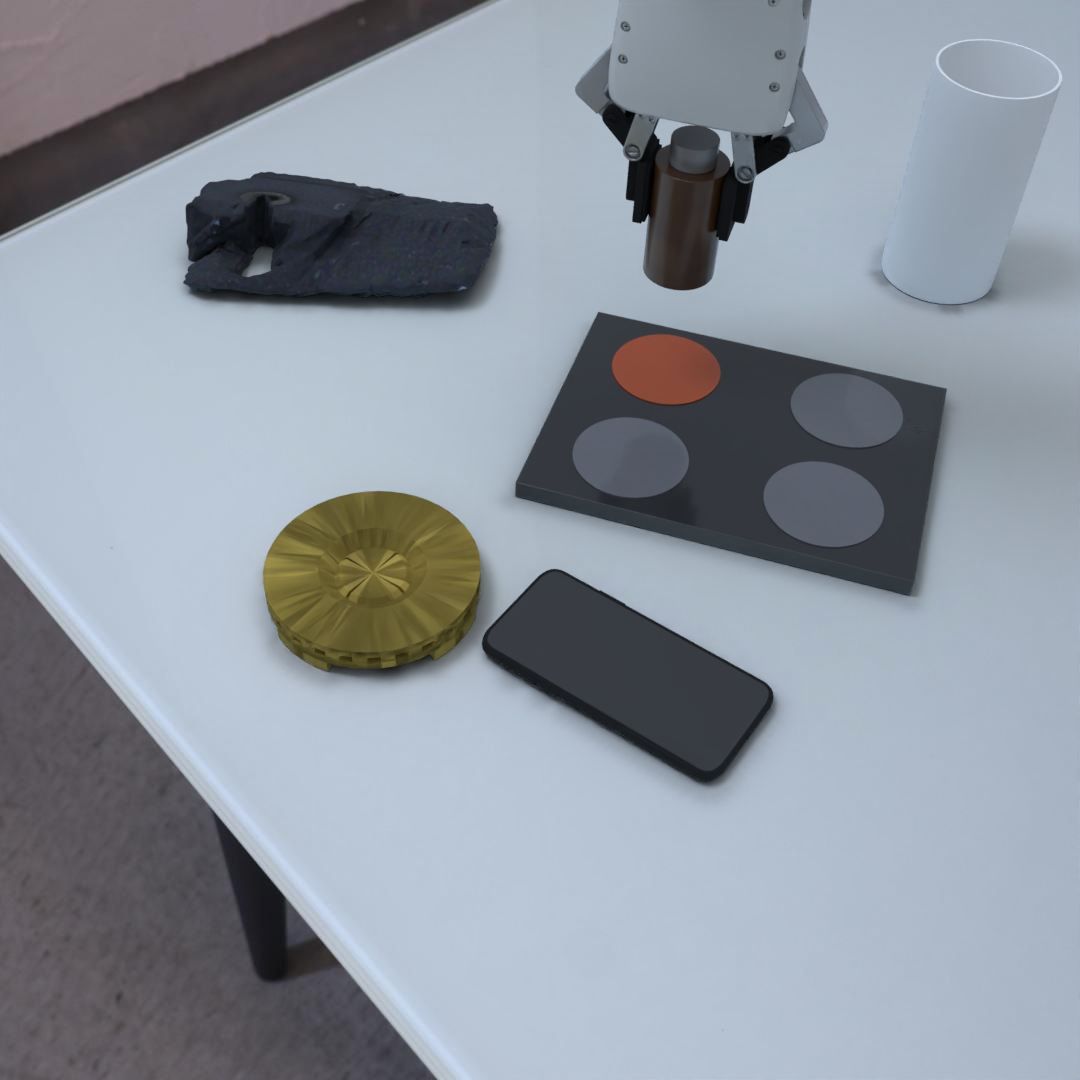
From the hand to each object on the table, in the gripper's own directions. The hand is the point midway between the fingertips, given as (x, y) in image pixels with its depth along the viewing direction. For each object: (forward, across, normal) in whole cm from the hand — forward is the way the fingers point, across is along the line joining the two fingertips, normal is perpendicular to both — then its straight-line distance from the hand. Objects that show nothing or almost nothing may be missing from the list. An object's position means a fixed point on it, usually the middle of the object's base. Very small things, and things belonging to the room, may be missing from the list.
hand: (685, 217), depth 78 cm
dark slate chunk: (+13, +26, -6) cm, 30 cm away
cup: (+13, -16, -19) cm, 28 cm away
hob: (+13, -6, +4) cm, 15 cm away
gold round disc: (+13, +11, +24) cm, 29 cm away
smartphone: (+13, -4, +25) cm, 28 cm away
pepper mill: (+4, 0, 0) cm, 4 cm away
